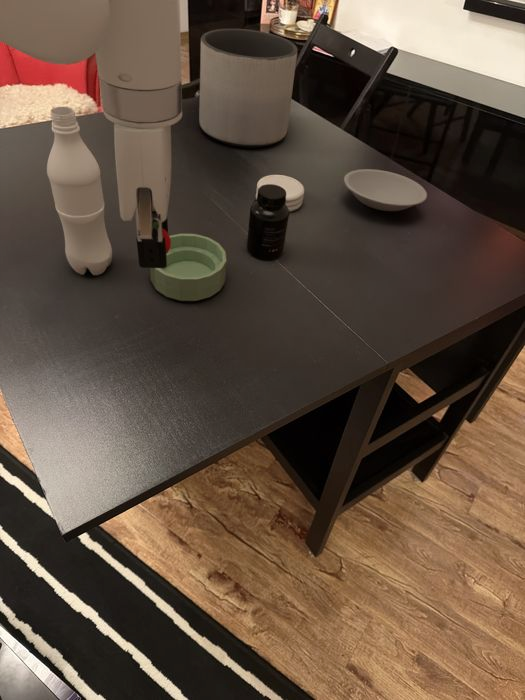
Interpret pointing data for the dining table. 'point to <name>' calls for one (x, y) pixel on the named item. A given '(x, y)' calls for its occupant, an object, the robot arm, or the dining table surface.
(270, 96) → the planter
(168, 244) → the cherry tomato
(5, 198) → the dining table surface
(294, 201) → the white round flat stack
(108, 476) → the dining table surface
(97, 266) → the water bottle
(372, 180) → the dish
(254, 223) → the supplement bottle
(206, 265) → the bowl
